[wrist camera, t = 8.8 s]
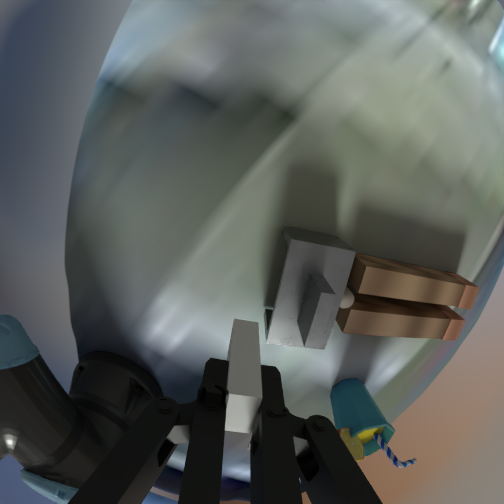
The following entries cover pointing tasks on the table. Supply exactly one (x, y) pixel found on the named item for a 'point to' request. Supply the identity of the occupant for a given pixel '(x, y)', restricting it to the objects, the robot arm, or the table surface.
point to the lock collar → (309, 289)
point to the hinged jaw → (410, 282)
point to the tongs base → (396, 317)
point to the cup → (361, 421)
